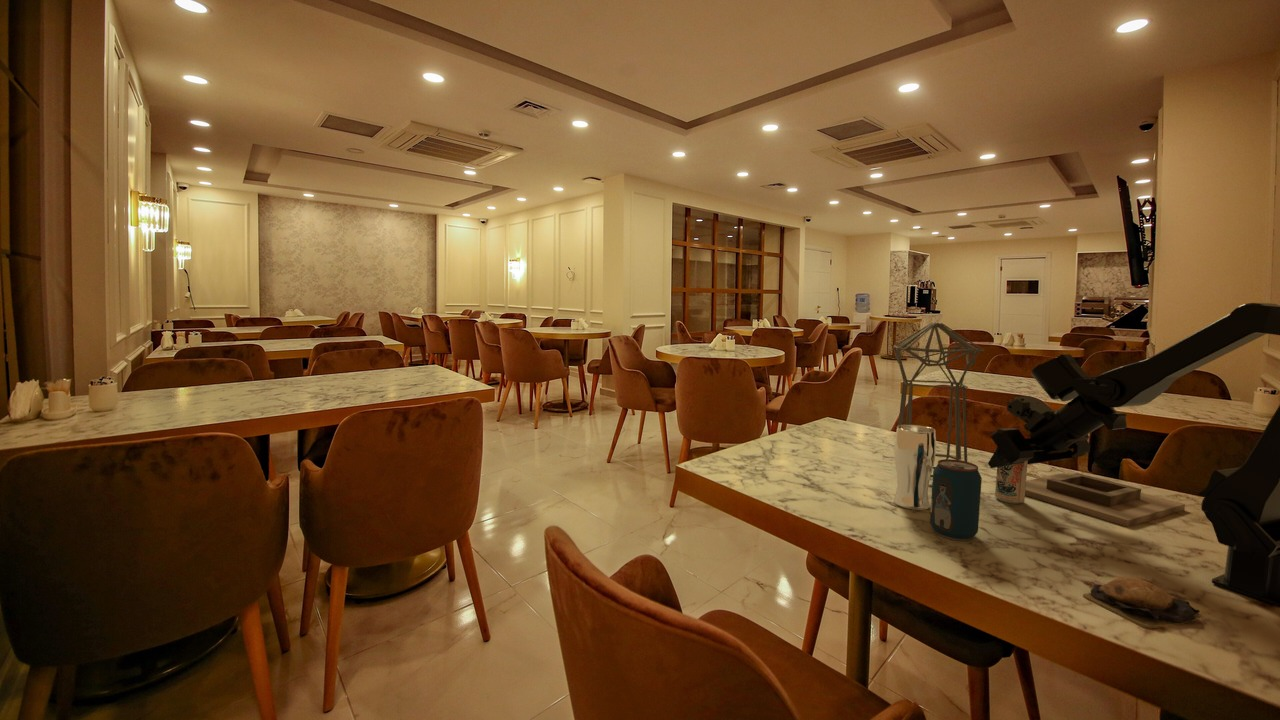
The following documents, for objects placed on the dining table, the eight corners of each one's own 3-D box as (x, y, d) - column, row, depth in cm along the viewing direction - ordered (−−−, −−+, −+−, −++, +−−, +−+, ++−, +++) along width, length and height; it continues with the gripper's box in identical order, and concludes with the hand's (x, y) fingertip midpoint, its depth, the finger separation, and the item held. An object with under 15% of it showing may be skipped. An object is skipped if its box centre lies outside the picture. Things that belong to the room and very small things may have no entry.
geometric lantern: (892, 487, 109) (898, 322, 107) (887, 468, 124) (893, 322, 121) (979, 497, 103) (988, 322, 101) (964, 476, 118) (971, 322, 115)
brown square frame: (1127, 526, 90) (1129, 509, 90) (1007, 489, 108) (1008, 475, 108) (1184, 510, 98) (1186, 493, 98) (1063, 478, 116) (1064, 464, 116)
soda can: (976, 530, 88) (981, 462, 87) (978, 546, 82) (983, 473, 81) (929, 521, 92) (934, 455, 90) (928, 536, 86) (933, 466, 84)
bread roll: (1149, 636, 61) (1152, 606, 60) (1074, 597, 69) (1076, 571, 68) (1213, 624, 63) (1217, 595, 63) (1134, 587, 71) (1136, 562, 71)
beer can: (989, 498, 103) (993, 439, 102) (1003, 494, 105) (1008, 437, 104) (1015, 506, 99) (1020, 445, 98) (1029, 502, 101) (1034, 442, 100)
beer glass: (883, 500, 102) (887, 425, 100) (909, 496, 104) (914, 423, 103) (913, 513, 95) (918, 433, 94) (940, 508, 98) (945, 431, 96)
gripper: (1078, 383, 98) (1017, 426, 110) (1004, 386, 93) (948, 432, 105) (1123, 433, 91) (1052, 474, 103) (1045, 440, 86) (980, 482, 98)
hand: (1007, 464), depth 102 cm, fingers open, 9 cm apart
